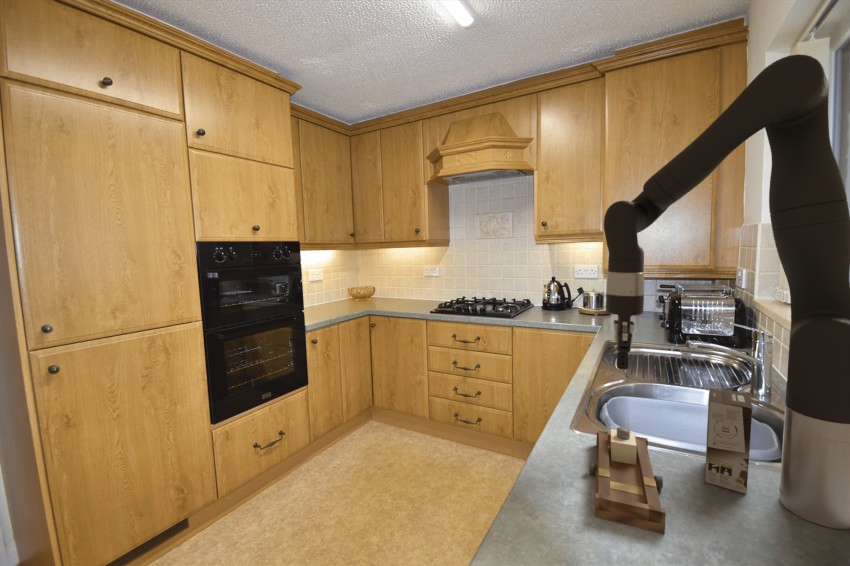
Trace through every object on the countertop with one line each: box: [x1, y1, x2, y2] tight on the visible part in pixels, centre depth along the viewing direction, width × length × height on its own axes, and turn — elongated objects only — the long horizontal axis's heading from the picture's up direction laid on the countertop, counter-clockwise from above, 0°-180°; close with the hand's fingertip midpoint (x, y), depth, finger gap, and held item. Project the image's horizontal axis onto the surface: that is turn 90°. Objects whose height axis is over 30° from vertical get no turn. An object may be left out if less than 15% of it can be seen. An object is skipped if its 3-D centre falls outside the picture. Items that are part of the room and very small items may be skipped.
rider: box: [610, 426, 637, 465], centre depth 81 cm, size 4×6×6 cm
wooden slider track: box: [588, 429, 667, 535], centre depth 75 cm, size 12×26×4 cm, turn 156°
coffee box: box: [704, 387, 753, 494], centre depth 75 cm, size 9×6×16 cm
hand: (622, 368), depth 88 cm, fingers closed
